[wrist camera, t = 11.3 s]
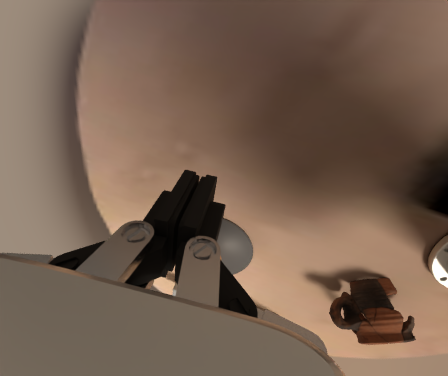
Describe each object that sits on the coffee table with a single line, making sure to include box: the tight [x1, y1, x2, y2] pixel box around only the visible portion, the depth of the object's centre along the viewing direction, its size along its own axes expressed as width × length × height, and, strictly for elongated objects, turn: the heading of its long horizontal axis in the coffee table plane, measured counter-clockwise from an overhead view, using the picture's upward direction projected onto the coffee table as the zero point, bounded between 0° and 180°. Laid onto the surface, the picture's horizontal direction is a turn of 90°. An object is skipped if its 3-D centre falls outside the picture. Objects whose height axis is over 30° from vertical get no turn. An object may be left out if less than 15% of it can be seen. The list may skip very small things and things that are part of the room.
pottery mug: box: [329, 278, 416, 345], centre depth 38 cm, size 12×10×8 cm
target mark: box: [217, 218, 253, 275], centre depth 39 cm, size 13×13×1 cm
